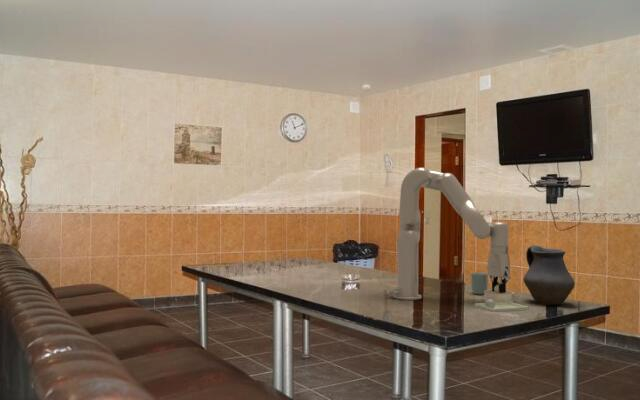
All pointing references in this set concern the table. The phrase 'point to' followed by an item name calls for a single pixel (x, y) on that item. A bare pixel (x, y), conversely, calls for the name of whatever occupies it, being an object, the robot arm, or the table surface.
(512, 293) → the bowl
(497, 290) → the pebble
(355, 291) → the table surface
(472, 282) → the cup
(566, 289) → the pitcher
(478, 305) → the tray
